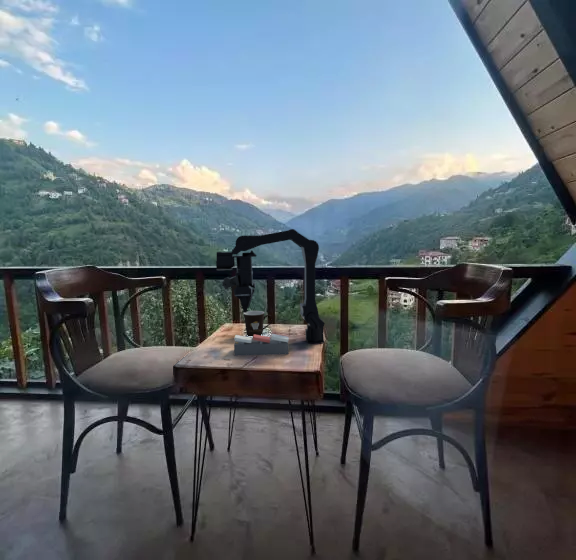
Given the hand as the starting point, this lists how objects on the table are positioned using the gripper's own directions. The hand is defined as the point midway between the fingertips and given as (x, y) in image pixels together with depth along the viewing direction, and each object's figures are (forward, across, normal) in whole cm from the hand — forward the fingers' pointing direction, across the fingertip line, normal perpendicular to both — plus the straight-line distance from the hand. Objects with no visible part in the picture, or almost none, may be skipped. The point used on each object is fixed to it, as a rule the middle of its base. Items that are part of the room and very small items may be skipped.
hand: (246, 309), depth 137 cm
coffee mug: (+14, -12, +3) cm, 18 cm away
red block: (+9, +10, +6) cm, 15 cm away
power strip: (+14, +8, +6) cm, 17 cm away
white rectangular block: (+9, +10, 0) cm, 14 cm away
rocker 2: (+9, +10, +12) cm, 18 cm away
